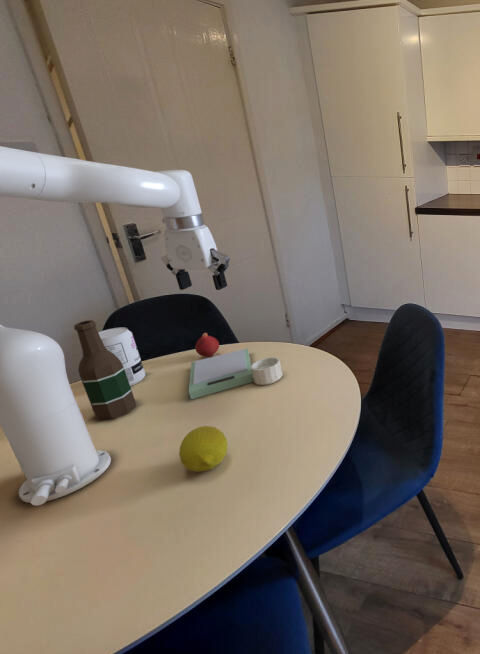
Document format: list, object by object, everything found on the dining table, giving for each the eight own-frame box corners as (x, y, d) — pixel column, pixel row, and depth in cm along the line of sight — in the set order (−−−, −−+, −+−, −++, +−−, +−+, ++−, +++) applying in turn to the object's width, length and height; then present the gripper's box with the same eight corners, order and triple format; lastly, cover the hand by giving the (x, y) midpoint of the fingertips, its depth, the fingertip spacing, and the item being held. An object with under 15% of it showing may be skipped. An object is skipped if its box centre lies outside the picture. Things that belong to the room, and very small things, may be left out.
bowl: (284, 380, 114) (280, 364, 112) (255, 389, 110) (251, 372, 109) (280, 370, 119) (277, 354, 118) (253, 377, 116) (249, 362, 114)
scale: (253, 381, 114) (251, 372, 113) (190, 399, 106) (187, 389, 105) (249, 355, 128) (247, 346, 127) (193, 369, 121) (190, 360, 120)
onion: (209, 362, 124) (203, 338, 122) (193, 361, 125) (187, 337, 123) (226, 353, 130) (220, 330, 127) (210, 351, 131) (204, 328, 128)
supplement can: (99, 387, 112) (80, 338, 108) (133, 372, 120) (117, 324, 115) (120, 392, 110) (101, 341, 105) (153, 376, 117) (137, 328, 113)
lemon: (231, 472, 83) (222, 438, 80) (182, 489, 79) (171, 455, 76) (231, 440, 91) (222, 410, 89) (187, 455, 87) (177, 423, 85)
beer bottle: (86, 418, 100) (50, 328, 92) (122, 399, 107) (91, 314, 99) (110, 423, 98) (75, 331, 90) (145, 403, 105) (115, 317, 98)
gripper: (137, 226, 98) (159, 293, 103) (206, 225, 96) (225, 293, 102) (165, 219, 105) (184, 282, 110) (229, 219, 103) (245, 283, 109)
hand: (204, 288), depth 106 cm, fingers open, 9 cm apart
